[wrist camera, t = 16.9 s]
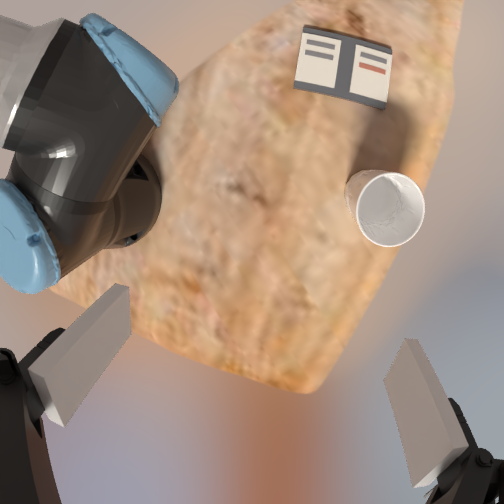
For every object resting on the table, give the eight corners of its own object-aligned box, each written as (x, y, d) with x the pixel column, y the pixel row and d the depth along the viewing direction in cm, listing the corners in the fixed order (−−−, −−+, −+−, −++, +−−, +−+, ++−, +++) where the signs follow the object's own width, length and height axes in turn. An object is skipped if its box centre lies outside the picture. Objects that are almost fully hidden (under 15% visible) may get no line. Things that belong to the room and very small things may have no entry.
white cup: (355, 233, 40) (375, 259, 31) (329, 182, 38) (342, 194, 29) (403, 206, 38) (434, 225, 29) (379, 154, 36) (407, 159, 27)
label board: (293, 88, 34) (293, 86, 33) (303, 29, 31) (303, 26, 30) (382, 110, 34) (385, 109, 33) (390, 51, 31) (393, 48, 30)
